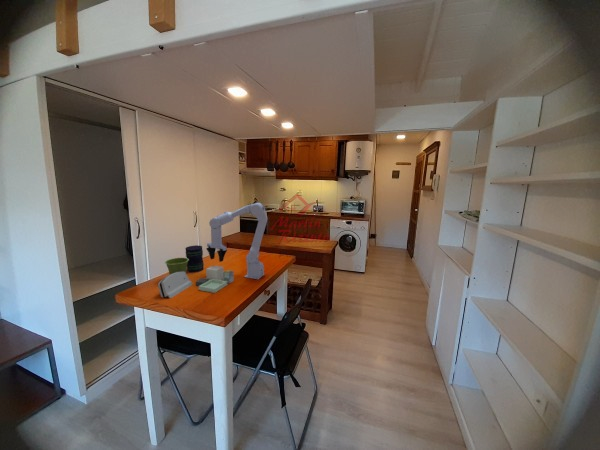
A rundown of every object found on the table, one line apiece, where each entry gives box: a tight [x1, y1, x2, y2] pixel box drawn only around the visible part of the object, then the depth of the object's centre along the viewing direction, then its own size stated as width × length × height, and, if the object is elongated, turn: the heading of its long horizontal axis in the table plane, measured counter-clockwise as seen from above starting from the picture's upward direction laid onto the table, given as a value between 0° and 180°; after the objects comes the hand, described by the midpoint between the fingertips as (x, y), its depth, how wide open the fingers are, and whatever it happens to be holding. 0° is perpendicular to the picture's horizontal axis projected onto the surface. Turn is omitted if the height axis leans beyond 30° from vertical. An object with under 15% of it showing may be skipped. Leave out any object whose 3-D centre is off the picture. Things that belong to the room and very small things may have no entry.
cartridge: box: [222, 269, 235, 284], centre depth 125 cm, size 4×4×6 cm
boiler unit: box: [205, 265, 225, 281], centre depth 128 cm, size 8×6×7 cm
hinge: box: [157, 272, 194, 299], centre depth 114 cm, size 17×5×10 cm, turn 168°
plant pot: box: [164, 257, 189, 275], centre depth 127 cm, size 12×12×11 cm
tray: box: [198, 279, 228, 294], centre depth 118 cm, size 10×10×2 cm
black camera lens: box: [184, 245, 205, 274], centre depth 142 cm, size 10×10×15 cm
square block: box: [195, 277, 209, 287], centre depth 122 cm, size 5×5×2 cm
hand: (216, 260), depth 132 cm, fingers open, 7 cm apart
